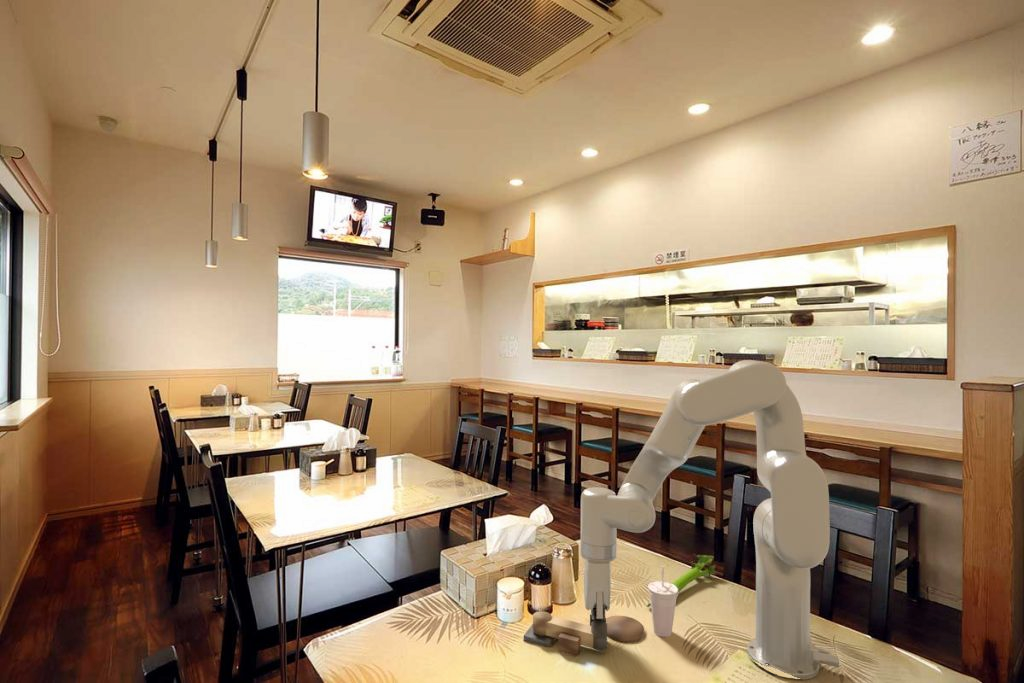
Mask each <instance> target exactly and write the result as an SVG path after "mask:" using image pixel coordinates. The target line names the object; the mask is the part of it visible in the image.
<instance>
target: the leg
mask: <svg viewBox="0 0 1024 683" xmlns="http://www.w3.org/2000/svg"><path fill="white" fill-rule="evenodd" d="M532 624H533V632H534V633H535V634H537V635H541V636H545V635H546V636H550V637H554V638H556V640H559V635H560V634H561V632H565V633H569V634H573V635H576V636H580V646H583V647H587V648H589V649H593V650H595V651H598V652H599V651H600V652H601V651H606V649H607V648H608V636H607V623H606V622H604V621H602V620H594V621H592V622H591V626H590V624H589V625H588V624H586V623H585V624H584V623H581V622H577V621H574V620H569V619H566V618H561V617H557V616H555V615H552V614H551V613H550V612H547V611H542V610H541V611H536V612H534V613H533V614H532Z"/></svg>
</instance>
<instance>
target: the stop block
mask: <svg viewBox="0 0 1024 683" xmlns="http://www.w3.org/2000/svg"><path fill="white" fill-rule="evenodd" d="M557 651H558V652H559V653H562V654H566V655H570V656H574V657H577V658H578V656H579V654H580V653H581V645H580V636H576V635H573V634H569V633H565V632H561V634H560V635H559V639H558V650H557Z"/></svg>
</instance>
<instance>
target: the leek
mask: <svg viewBox="0 0 1024 683" xmlns="http://www.w3.org/2000/svg"><path fill="white" fill-rule="evenodd" d="M696 557H697V558H698V560H697V563H696V562H694V561H693V559H691V560H692V561H691V568H690V570H689V571H687V572H686V573H685V574H683V575H681V576H680V577H679V578H677V579H676V580H675V581H673V582H672V583H671V584H673V585H675V586H676V587H677V588H678V593H680V592H681V591H682V590H683V589H684V588H685V587H686V586H687V585H688V584H691V583H692V582H693V581H695V580H696V579H698V578H700V577H703V576H707V575H708V578H710V577H711V576H710V575H712V576H713V575H717V572H716V571H715V568H716V564H714V565H711V563H712V561H713V560H714V558H715V557H714V556H713V555H712V554H711V555H708V554H702V555H701V554H698V555H696ZM706 566H708V567H707V568H706V569H704V570H702V569H703V568H705V567H706ZM646 607H647V608H650V607H651V601H649V602H648V603H647V605H646Z"/></svg>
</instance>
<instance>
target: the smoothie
mask: <svg viewBox="0 0 1024 683" xmlns="http://www.w3.org/2000/svg"><path fill="white" fill-rule="evenodd" d="M660 567H661V569H660V574H661V575H660V577H661V578H660V579H661V580H655V581H652V582H649V583H648V586H647V591H648V593H649V600H650V601H651V605H650V609H651V618H652V625H653V633H654V634H655V635H657V636H659V637H660V638H661V637H662V638H668V637H670V636H672V634H673V625H674V618H675V611H676V603H677V598H678V597H679V592H678V588H677V587H676V586H675V585H673V584H672V583H670V582H667V581H665V580H664V579H665V566H664V565H661V566H660ZM650 601H649V602H650Z"/></svg>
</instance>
